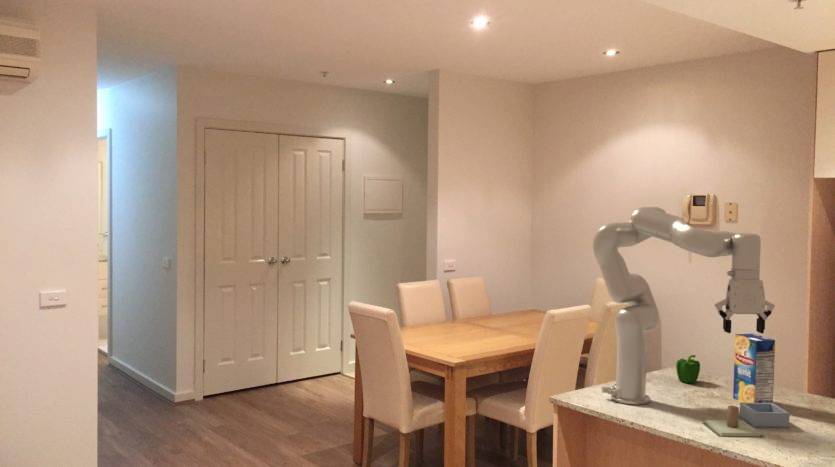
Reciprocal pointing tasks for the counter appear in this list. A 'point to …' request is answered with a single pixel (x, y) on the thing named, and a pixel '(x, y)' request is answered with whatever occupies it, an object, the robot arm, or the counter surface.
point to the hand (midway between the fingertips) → (743, 332)
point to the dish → (764, 415)
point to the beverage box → (753, 368)
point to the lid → (732, 425)
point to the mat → (727, 436)
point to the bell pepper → (688, 369)
